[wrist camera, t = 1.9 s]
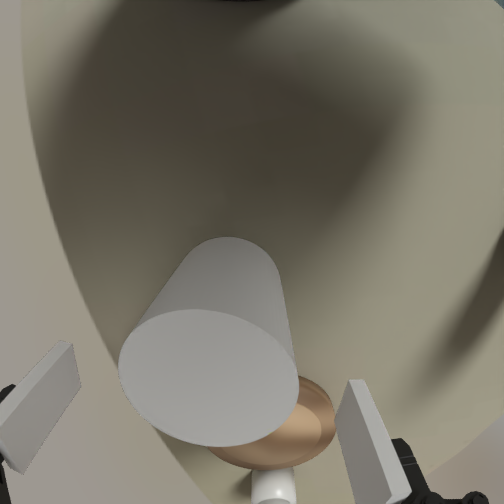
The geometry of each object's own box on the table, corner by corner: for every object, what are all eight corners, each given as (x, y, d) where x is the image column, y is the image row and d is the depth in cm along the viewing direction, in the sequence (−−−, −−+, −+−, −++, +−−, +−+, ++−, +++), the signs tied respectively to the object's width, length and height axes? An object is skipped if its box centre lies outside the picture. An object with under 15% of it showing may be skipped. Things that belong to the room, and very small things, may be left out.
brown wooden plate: (204, 364, 26) (200, 379, 24) (348, 374, 26) (353, 390, 24) (202, 451, 30) (199, 465, 28) (315, 458, 30) (318, 472, 28)
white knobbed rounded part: (254, 460, 30) (253, 509, 24) (297, 462, 30) (302, 509, 24) (249, 481, 32) (248, 525, 25) (289, 482, 32) (292, 526, 25)
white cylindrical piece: (185, 335, 26) (145, 442, 14) (169, 241, 23) (96, 311, 12) (283, 330, 25) (298, 443, 14) (278, 232, 23) (297, 302, 11)
